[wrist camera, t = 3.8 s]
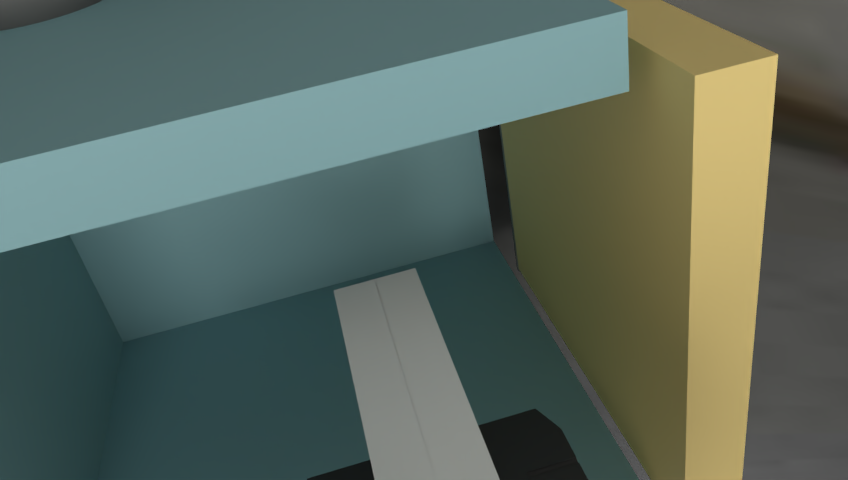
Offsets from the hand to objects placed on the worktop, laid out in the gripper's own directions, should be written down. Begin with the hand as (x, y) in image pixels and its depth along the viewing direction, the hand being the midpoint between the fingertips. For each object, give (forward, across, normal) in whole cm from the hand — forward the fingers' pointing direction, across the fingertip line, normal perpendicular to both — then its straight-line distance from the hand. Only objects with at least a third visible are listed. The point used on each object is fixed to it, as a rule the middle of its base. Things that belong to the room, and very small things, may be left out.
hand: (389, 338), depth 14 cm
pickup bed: (+11, -2, 0) cm, 11 cm away
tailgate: (+3, +6, 0) cm, 7 cm away
